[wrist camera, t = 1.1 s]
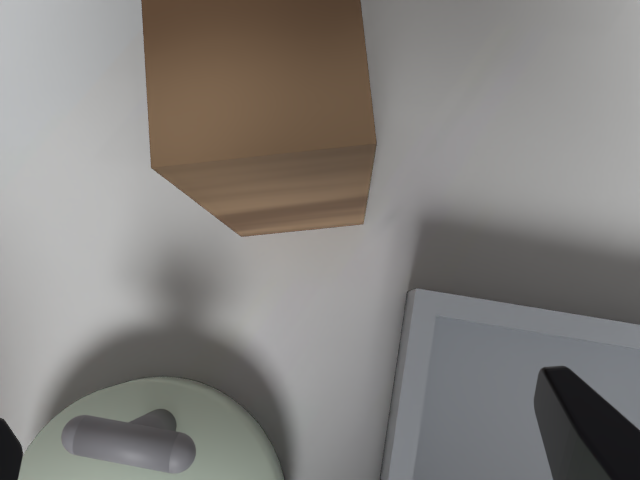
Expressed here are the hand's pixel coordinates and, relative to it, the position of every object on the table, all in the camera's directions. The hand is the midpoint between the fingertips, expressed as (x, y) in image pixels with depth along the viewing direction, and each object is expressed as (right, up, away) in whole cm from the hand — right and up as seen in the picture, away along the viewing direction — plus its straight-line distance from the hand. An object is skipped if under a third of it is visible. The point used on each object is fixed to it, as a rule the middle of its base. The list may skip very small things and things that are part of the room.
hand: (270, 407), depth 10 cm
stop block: (0, +6, +14) cm, 15 cm away
